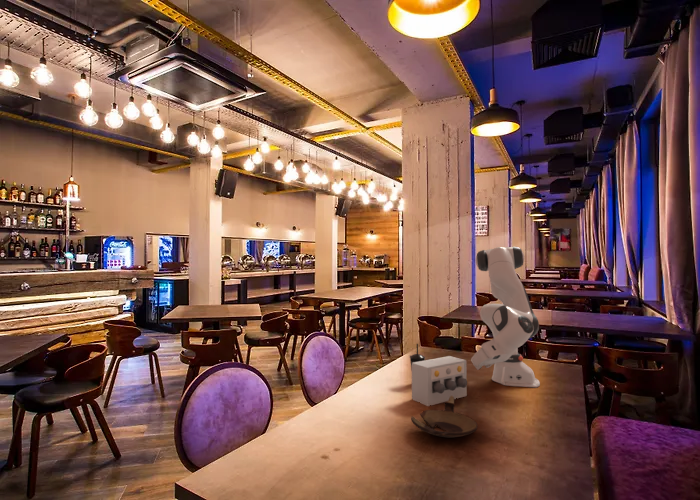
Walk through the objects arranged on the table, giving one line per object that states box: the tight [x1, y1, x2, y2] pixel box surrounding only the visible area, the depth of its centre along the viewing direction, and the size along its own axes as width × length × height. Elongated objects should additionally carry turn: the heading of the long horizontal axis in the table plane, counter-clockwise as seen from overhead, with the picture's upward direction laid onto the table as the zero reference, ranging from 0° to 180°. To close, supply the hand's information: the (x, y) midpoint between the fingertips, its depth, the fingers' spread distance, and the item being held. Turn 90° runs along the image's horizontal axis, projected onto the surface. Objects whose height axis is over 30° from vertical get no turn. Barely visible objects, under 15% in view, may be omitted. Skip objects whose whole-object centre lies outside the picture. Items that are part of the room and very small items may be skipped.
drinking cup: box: [409, 343, 426, 372], centre depth 193 cm, size 8×8×20 cm
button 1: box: [456, 377, 468, 388], centre depth 172 cm, size 3×4×4 cm
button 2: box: [445, 379, 456, 391], centre depth 168 cm, size 3×4×4 cm
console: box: [411, 355, 468, 407], centre depth 174 cm, size 11×24×16 cm, turn 122°
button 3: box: [433, 382, 445, 393], centre depth 165 cm, size 3×4×4 cm
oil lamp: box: [410, 396, 478, 439], centre depth 139 cm, size 22×30×8 cm
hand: (481, 367), depth 163 cm, fingers open, 4 cm apart
